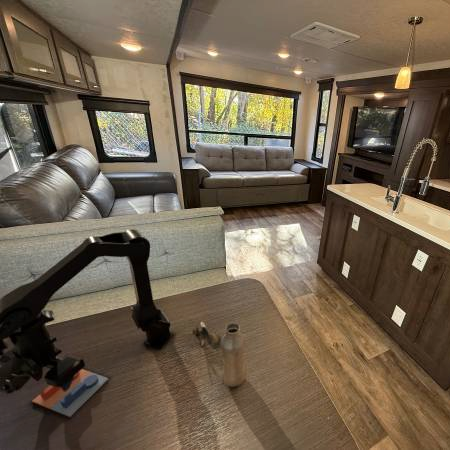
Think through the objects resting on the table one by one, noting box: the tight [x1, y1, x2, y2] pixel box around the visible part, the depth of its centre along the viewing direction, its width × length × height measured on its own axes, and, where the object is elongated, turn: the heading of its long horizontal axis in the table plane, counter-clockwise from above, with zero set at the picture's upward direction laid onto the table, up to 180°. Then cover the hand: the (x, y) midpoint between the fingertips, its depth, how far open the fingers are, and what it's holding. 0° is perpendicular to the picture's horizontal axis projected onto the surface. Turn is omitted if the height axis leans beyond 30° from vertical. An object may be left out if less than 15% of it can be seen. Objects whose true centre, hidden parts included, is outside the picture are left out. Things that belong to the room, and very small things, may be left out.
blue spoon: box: [60, 374, 98, 408], centre depth 65 cm, size 8×3×2 cm, turn 166°
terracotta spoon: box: [39, 372, 80, 400], centre depth 66 cm, size 8×3×2 cm, turn 166°
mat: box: [31, 368, 109, 418], centre depth 66 cm, size 12×10×1 cm
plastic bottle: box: [219, 322, 247, 388], centre depth 68 cm, size 6×7×20 cm
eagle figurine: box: [187, 321, 221, 348], centre depth 82 cm, size 8×7×9 cm
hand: (53, 384), depth 64 cm, fingers open, 9 cm apart
